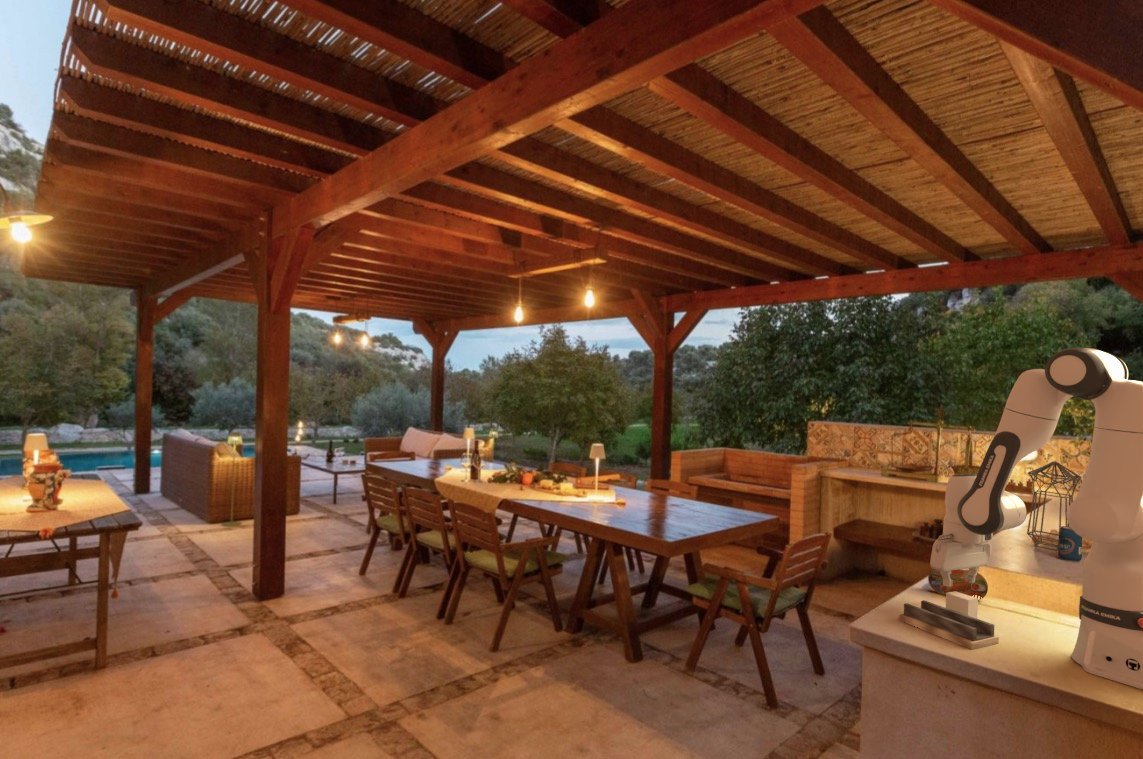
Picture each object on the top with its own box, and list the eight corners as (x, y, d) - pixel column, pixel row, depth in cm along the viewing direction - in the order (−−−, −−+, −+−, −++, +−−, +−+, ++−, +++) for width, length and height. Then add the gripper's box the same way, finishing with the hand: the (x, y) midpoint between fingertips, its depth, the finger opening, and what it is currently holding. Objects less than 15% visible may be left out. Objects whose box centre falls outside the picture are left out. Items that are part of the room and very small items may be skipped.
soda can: (1053, 558, 234) (1054, 526, 234) (1064, 556, 237) (1065, 525, 237) (1075, 563, 228) (1076, 530, 228) (1085, 561, 231) (1086, 529, 231)
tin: (927, 591, 188) (928, 563, 188) (929, 589, 190) (930, 561, 190) (987, 604, 178) (987, 574, 178) (988, 601, 180) (989, 572, 180)
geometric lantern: (1031, 540, 262) (1036, 458, 262) (1078, 550, 250) (1084, 463, 250) (1020, 545, 252) (1026, 459, 252) (1069, 555, 240) (1074, 465, 240)
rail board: (998, 643, 149) (999, 625, 149) (972, 649, 145) (973, 630, 145) (924, 615, 166) (924, 599, 166) (899, 620, 162) (899, 603, 162)
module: (977, 621, 164) (977, 598, 164) (967, 623, 162) (968, 600, 162) (954, 613, 169) (955, 591, 169) (945, 615, 168) (946, 592, 168)
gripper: (948, 538, 159) (945, 592, 159) (997, 533, 168) (994, 584, 168) (925, 532, 165) (922, 584, 165) (973, 527, 174) (970, 576, 174)
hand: (958, 584), depth 167 cm, fingers open, 8 cm apart
